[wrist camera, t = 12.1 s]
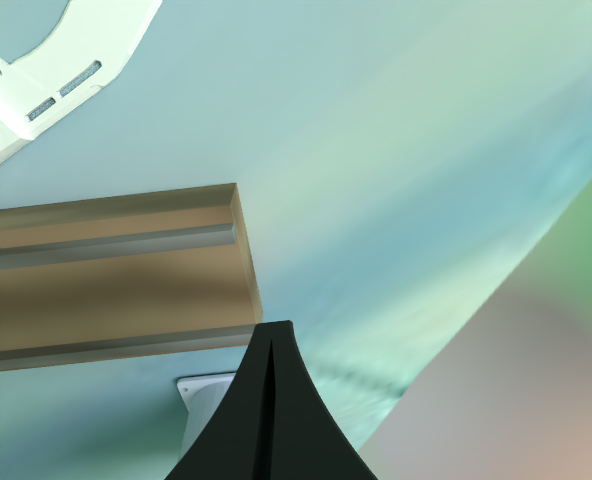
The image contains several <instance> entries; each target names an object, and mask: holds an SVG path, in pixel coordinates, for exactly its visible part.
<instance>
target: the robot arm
mask: <svg viewBox="0 0 592 480" xmlns="http://www.w3.org/2000/svg"><path fill="white" fill-rule="evenodd" d="M177 387H178V390H179V392H180V394H181V396H182V398H183V401H184V403H185V405H186V407H187V410H188V412H189V416H188V420H187V424H186V428H185V433H184V437H183V441H182V445H181V450H180V454H179V458H178V462H177V465H176V466H175V467H174V468H173V470H172V471H171V472H170V473H169V475H168V476H167V477H166V478H165V479H164V480H378V479H377V478H376V476H375V475H374V474H373V473H372V472H371V470H369V468H368V467H367V465H366V464H365V463H364V462H363V460H362V459H361V458H360V456H359V455H358V454H357V452H356V451H355V450H354V448H353V447H352V446H351V444H350V443H349V441H348V440H347V438H346V437H345V436H344V434H343V433H342V431H341V430H340V428H339V427H338V425H337V424H336V422H335V421H334V419H333V418H332V416H331V414H330V413H329V411H328V409H327V408H326V406H325V404H324V403H323V401H322V399H321V397H320V395H319V394H318V392H317V390H316V388H315V386H314V384H313V382H312V380H311V378H310V376H309V374H308V371H307V369H306V367H305V365H304V362H303V360H302V357H301V355H300V352H299V349H298V346H297V343H296V340H295V336H294V329H293V323H292V322H291V321H290V320H286V321H277V322H267V323H258V324H257V325H256V326H255V328H254V331H253V334H252V337H251V340H250V343H249V345H248V348H247V350H246V353H245V355H244V357H243V359H242V361H241V364H240V366H239V368H238V370H237V372H236V373H228V374H219V375H209V376H200V377H190V378H182V379H179V380H178V382H177Z"/></svg>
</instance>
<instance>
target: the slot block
mask: <svg viewBox="0 0 592 480" xmlns="http://www.w3.org/2000/svg"><path fill="white" fill-rule="evenodd" d="M262 314H263V311H262V306H261V301H260V297H259V292H258V287H257V282H256V277H255V272H254V267H253V262H252V257H251V253H250V248H249V243H248V238H247V233H246V228H245V223H244V218H243V213H242V209H241V204H240V199H239V194H238V189H237V184H236V183H231V184H222V185H213V186H204V187H195V188H187V189H178V190H169V191H160V192H151V193H142V194H134V195H125V196H116V197H107V198H98V199H90V200H81V201H72V202H63V203H54V204H45V205H37V206H28V207H19V208H10V209H1V210H0V371H8V370H18V369H27V368H37V367H46V366H55V365H65V364H74V363H84V362H93V361H102V360H112V359H121V358H131V357H140V356H149V355H159V354H168V353H177V352H187V351H196V350H206V349H215V348H224V347H234V346H243V345H249V343H250V340H251V337H252V334H253V331H254V328H255V326H256V325H257V324H258V323H262Z"/></svg>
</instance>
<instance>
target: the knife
mask: <svg viewBox="0 0 592 480" xmlns="http://www.w3.org/2000/svg"><path fill="white" fill-rule="evenodd" d="M162 1H163V0H69V2H68V5H67V7H66V9H65V11H64V13H63V15H62V18H61V20H60V22H59V23H58V24H57V26H56V27H55V28H54V30H53V31H52V32H51V34H50V35H49V36H48V37H47V38H46V39H45V40H44V41H43V42H42V43H41V44H40V45H39V46H38V47H37V48H35V49H34V50H33V51H31V52H30V53H29V54H27V55H25V56H23V57H21V58H19V59H17V60H14V61H13V62H12V63H11V64H8V63H6V62H5V61H3V60H2V59H1V58H0V70H1V73H2V74H1V73H0V164H1V163H2V162H4V161H5V160H6V159H8V158H9V157H10V156H12V155H13V154H14V153H16V152H17V151H18V150H20V149H21V148H22V147H24V146H25V145H27V144H29V143H30V142H31V141H33V140H34V139H35V138H36V137H37V136H38V135H39V134H41V133H42V132H43V131H45V130H46V129H47V128H49V127H50V126H52V125H53V124H54V123H56V122H57V121H58V120H60V119H61V118H63V117H64V116H65V115H67V114H68V113H69V112H71V111H72V110H74V109H75V108H76V107H78V106H79V105H80V104H82V103H83V102H84V101H86V100H87V99H89V98H90V97H91V96H93V95H94V94H95V93H97V92H98V91H100V90H101V89H102V88H104V87H106V86H107V85H109V84H110V83H111V82H112V81H114V80H115V79H116V78H117V77H118V75H119V73H120V71H121V70H122V68H123V67H124V66H125V64H126V63H127V61H128V60H129V59H130V57H131V56H132V54H133V52H134V50H135V49H136V47H137V45H138V43H139V42H140V40H141V38H142V36H143V34H144V33H145V31H146V29H147V27H148V26H149V24H150V22H151V20H152V19H153V17H154V15H155V13H156V12H157V10H158V8H159V6H160V4H161V3H162ZM96 61H100V62H101V64H102V67H101V68H100V69H99V70H98V71H97V72H96V73H95V74H93V75H92V76H91V77H89V78H88V79H87V80H85V81H84V82H83V83H81V84H80V85H79V86H77V87H76V88H75V89H74V90H72V91H71V92H70V93H68V94H67V95H66V96H64V97H62V96H61V95H60V91H61V90H62V89H64V88H65V87H66V86H67V85H69V84H70V83H71V82H73V81H74V80H75V79H77V78H78V77H79V76H81V75H82V74H83V73H84V72H86V71H87V70H88V69H89V68H91V67H92V66H93V65H94V64H95V62H96ZM51 98H54V99H55V101H56V103H55V104H54V105H52V106H51V107H50V108H48V109H47V110H46V111H45V112H43V113H42V114H41V115H39V116H38V117H37V118H35V119H34V120H33V121H31V120H29V117H28V115H30V114H31V113H32V112H34V111H35V110H36V109H38V108H39V107H40V106H42V105H43V104H44V103H46V102H47V101H48V100H50V99H51Z"/></svg>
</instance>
